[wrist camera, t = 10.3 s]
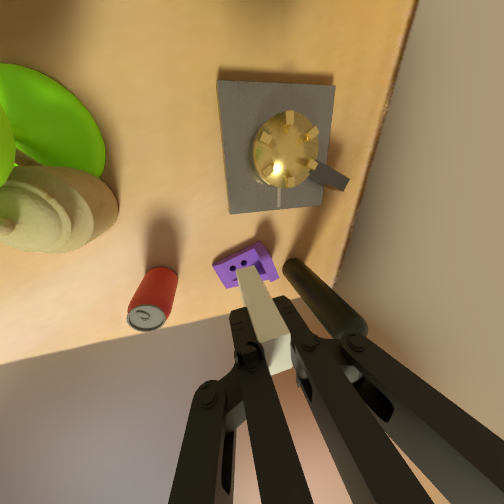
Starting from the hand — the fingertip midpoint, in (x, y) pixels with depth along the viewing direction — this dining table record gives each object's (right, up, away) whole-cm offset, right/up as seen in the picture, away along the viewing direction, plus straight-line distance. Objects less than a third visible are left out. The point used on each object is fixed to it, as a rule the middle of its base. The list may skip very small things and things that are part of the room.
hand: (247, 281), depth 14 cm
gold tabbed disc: (+9, +19, +20) cm, 29 cm away
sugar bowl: (-30, +11, +15) cm, 35 cm away
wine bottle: (+11, -2, +32) cm, 34 cm away
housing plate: (+5, +21, +20) cm, 29 cm away
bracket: (-2, 0, +29) cm, 29 cm away
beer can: (-19, -3, +25) cm, 32 cm away
